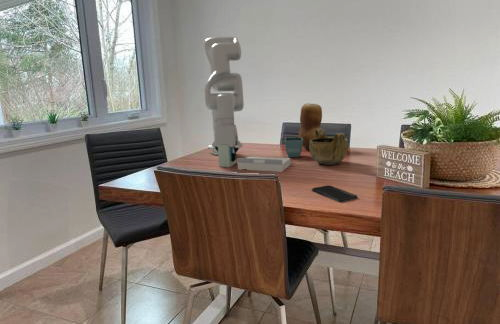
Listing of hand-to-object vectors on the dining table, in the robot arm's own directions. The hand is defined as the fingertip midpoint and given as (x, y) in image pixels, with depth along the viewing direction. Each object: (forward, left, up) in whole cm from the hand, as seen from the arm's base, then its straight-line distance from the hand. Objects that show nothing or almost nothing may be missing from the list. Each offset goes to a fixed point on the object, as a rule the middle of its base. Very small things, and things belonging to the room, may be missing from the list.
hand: (227, 160), depth 167 cm
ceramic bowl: (+44, +13, -2) cm, 46 cm away
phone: (+53, -32, -3) cm, 62 cm away
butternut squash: (+29, +46, -2) cm, 54 cm away
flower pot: (+25, +25, -2) cm, 35 cm away
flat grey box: (+18, 0, -2) cm, 18 cm away
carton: (0, 0, -2) cm, 2 cm away
